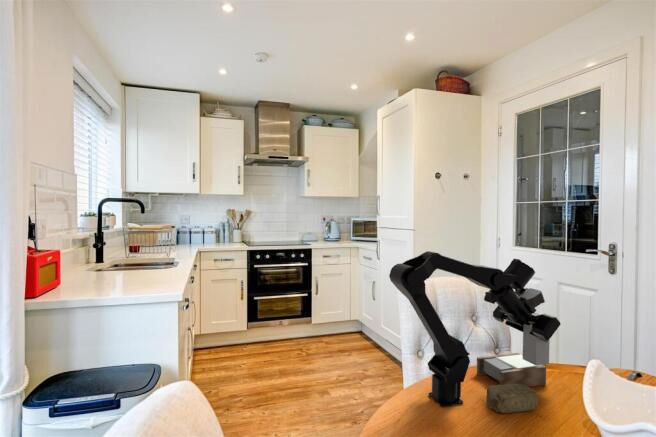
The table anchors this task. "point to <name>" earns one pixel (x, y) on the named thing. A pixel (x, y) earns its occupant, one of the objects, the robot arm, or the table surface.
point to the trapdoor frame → (516, 373)
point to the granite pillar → (534, 347)
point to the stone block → (511, 398)
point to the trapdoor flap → (505, 365)
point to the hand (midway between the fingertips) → (539, 337)
